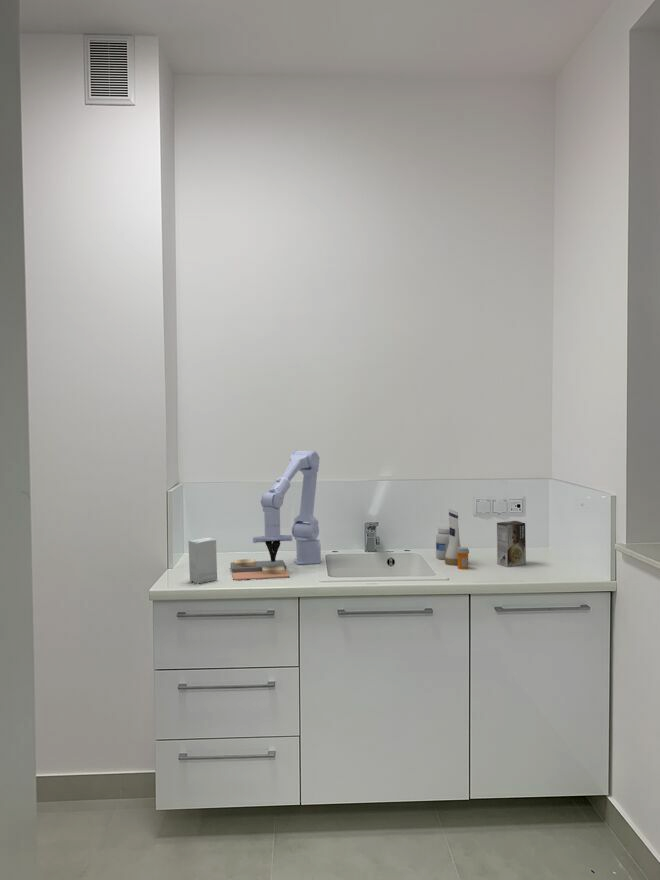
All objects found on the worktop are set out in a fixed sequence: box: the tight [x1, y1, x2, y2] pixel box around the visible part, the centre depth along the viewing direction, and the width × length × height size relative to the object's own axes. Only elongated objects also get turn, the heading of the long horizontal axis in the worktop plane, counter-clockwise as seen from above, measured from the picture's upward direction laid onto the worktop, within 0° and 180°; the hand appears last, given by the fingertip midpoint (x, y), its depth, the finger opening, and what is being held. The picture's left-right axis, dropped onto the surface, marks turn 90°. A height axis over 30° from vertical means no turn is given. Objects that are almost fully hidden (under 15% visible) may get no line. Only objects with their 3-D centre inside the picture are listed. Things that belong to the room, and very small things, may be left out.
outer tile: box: [233, 558, 256, 567], centre depth 263 cm, size 8×6×2 cm
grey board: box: [230, 559, 287, 574], centre depth 265 cm, size 20×11×2 cm, turn 101°
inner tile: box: [262, 566, 285, 575], centre depth 257 cm, size 8×6×2 cm
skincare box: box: [188, 536, 218, 584], centre depth 247 cm, size 8×6×15 cm
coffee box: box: [496, 520, 527, 568], centre depth 268 cm, size 9×6×16 cm
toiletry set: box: [435, 508, 470, 570], centre depth 272 cm, size 25×8×21 cm, turn 11°
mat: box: [231, 569, 291, 581], centre depth 254 cm, size 20×10×1 cm, turn 101°
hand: (273, 561), depth 260 cm, fingers closed
